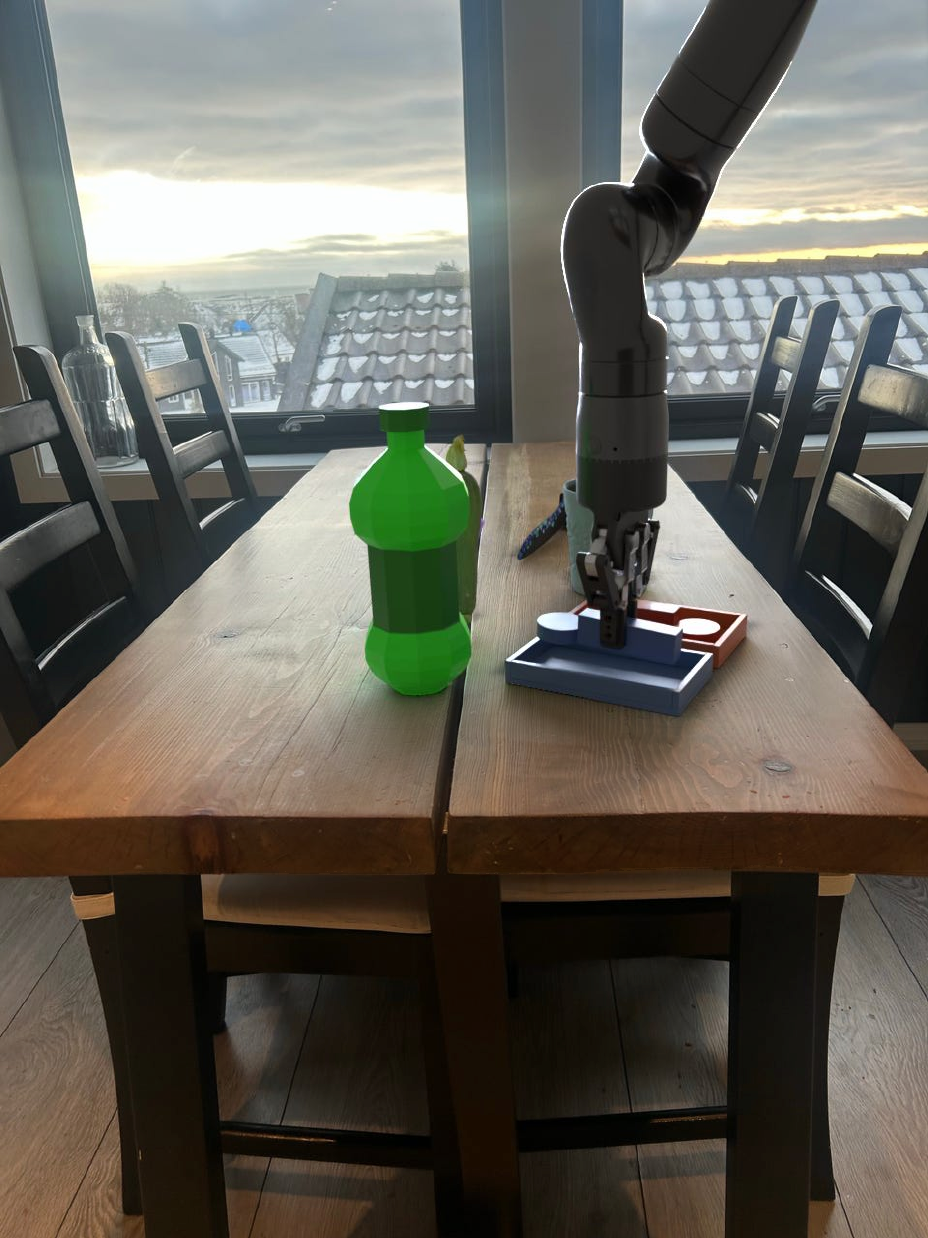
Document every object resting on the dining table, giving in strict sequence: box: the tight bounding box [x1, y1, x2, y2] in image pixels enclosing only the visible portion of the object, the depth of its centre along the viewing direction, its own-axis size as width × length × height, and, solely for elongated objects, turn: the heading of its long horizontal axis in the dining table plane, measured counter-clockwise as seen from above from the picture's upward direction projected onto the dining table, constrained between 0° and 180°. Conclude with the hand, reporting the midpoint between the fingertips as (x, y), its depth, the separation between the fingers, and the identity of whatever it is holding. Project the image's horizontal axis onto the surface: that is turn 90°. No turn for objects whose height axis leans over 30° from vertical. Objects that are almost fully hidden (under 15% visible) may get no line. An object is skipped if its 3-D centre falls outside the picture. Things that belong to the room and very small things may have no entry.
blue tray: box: [504, 636, 714, 717], centre depth 90 cm, size 16×9×2 cm, turn 60°
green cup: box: [562, 477, 654, 596], centre depth 112 cm, size 10×10×12 cm
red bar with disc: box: [587, 601, 721, 644], centre depth 98 cm, size 13×4×3 cm, turn 60°
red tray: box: [568, 598, 748, 669], centre depth 99 cm, size 16×9×2 cm, turn 60°
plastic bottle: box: [348, 401, 472, 697], centre depth 87 cm, size 10×10×25 cm
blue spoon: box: [535, 608, 683, 665], centre depth 89 cm, size 13×4×3 cm, turn 60°
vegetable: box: [445, 434, 483, 625], centre depth 101 cm, size 4×4×20 cm
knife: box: [516, 492, 567, 561], centre depth 136 cm, size 31×3×4 cm, turn 151°
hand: (618, 641), depth 88 cm, fingers closed on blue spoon, 2 cm apart
